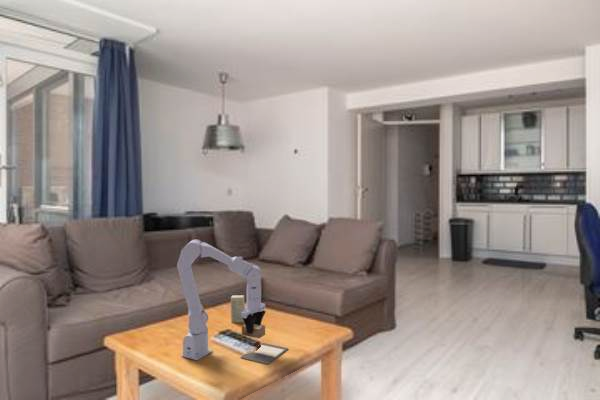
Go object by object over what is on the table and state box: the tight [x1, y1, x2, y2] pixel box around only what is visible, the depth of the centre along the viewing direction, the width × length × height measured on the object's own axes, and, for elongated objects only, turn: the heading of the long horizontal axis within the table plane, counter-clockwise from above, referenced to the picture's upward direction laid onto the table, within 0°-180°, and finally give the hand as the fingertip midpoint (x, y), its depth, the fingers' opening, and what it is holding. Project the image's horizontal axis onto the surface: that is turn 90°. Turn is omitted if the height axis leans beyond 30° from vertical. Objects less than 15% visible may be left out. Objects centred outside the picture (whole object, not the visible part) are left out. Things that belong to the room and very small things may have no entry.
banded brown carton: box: [241, 324, 266, 339], centre depth 160 cm, size 8×4×4 cm, turn 64°
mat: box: [240, 342, 289, 366], centre depth 159 cm, size 16×12×1 cm
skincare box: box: [230, 294, 246, 324], centre depth 196 cm, size 6×4×12 cm
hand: (253, 331), depth 160 cm, fingers closed on banded brown carton, 4 cm apart
